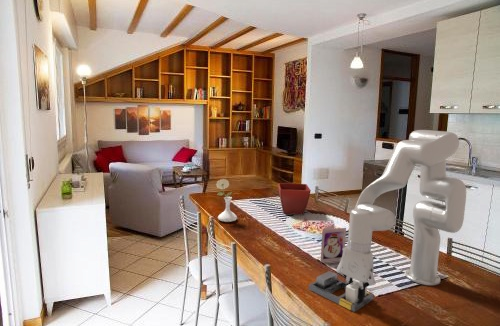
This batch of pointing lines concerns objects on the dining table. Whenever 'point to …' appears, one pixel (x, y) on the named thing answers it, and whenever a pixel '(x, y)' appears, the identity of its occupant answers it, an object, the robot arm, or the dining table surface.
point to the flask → (340, 264)
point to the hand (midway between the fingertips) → (355, 295)
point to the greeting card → (332, 243)
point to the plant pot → (294, 197)
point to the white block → (353, 291)
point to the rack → (330, 284)
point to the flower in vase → (227, 214)
